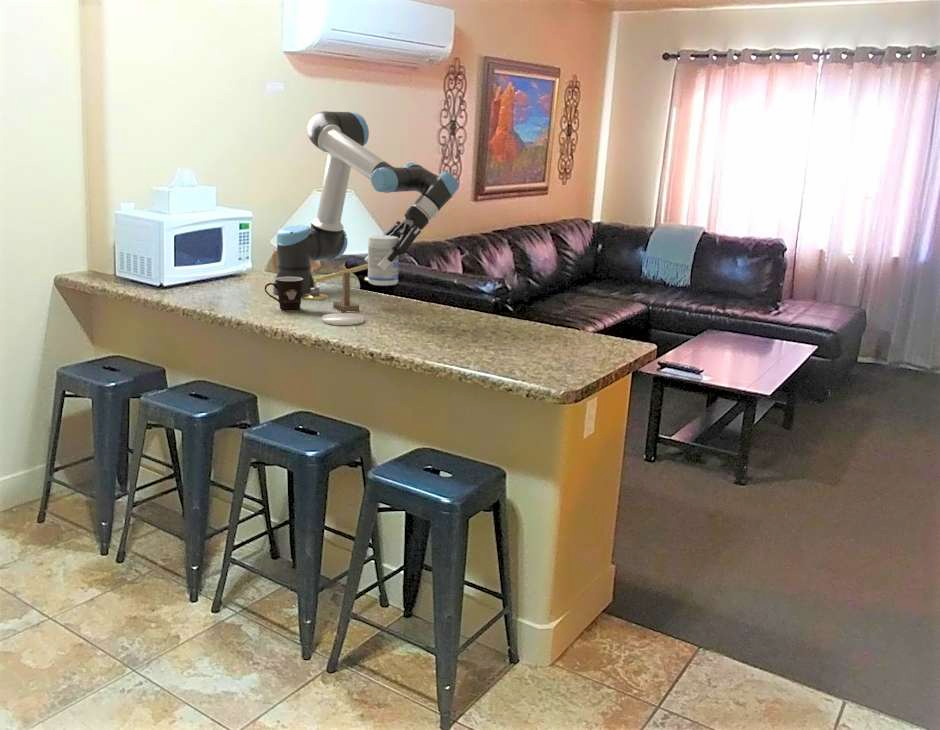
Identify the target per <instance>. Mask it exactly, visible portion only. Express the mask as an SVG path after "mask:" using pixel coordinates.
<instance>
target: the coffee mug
mask: <svg viewBox="0 0 940 730" xmlns="http://www.w3.org/2000/svg"><path fill="white" fill-rule="evenodd" d="M275 278H276V277H275ZM276 282H277V284H274V282H269V283H267V284H265V285H264V291H265V293H266V294H267V295H268V296H269V297H270V298H271V299H273V300H276V301H277V302H278V304H279V309H281V310H280V311H283V310H285V311H284V312H295V311H296V310H297V311H300V309H301V303H302V296H301V294H302V284H303V278H300V277H279V278H276ZM270 285H272V286H273V285H274V286H275V287H276V289H277V290H278V294H277V295H278V298H276V297H275V296H273V295H271V294H270V293H269V291H268V290H267V288H268V286H270Z"/></svg>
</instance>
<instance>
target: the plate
mask: <svg viewBox="0 0 940 730" xmlns="http://www.w3.org/2000/svg"><path fill="white" fill-rule="evenodd" d="M321 322H322V323H323V322H324V323H323V324H325V323H327V324H326V325H329V324H332V325H331V326H336V325H351V326H354V325H353V324H358V325H360V324H359V323H361V324H363V323H365V317H364V315H361V314H359V313H352V312H344V313H342V312H335V313H329V314H328V313H327V314H323V315H322V316H321Z"/></svg>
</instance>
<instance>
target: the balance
mask: <svg viewBox="0 0 940 730" xmlns="http://www.w3.org/2000/svg"><path fill="white" fill-rule="evenodd" d="M364 270H368V263H365V264H362V265H359V266H355V267H351V268H348V269H344V270H341V271H337V272H333V273H330V274H326V275H321V276H318V277H315V278H313V279H314V287H312V288H310V293H309V294H304V295H302V296H301V299H302V300H304V301H305V300H306V301H324V300H327V299H328V295H327V294H325V293H322V292H321V293H320V291H321V290H320V287H317V283H321V282H324V281H328V280H331V279H335V278H338V277H341V276H342V301H333V302H332V308H333V309H334V308H335V310H336V309H337V311H338V310H339V312H340V311H341V312H340V313H342V312H344V313H347V312H346V311H357V312H360V305H359V304H357V303H356V302H354V301H351V294H350V293H351V287H350V284H351V283H350V281H351V278H350V275H351V274H352V273H356V272H360V271H364ZM363 279H364V281H365V282H368V275H367V276H365V277H364V278H363ZM368 283H369V282H368Z"/></svg>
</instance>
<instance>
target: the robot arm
mask: <svg viewBox="0 0 940 730" xmlns="http://www.w3.org/2000/svg"><path fill="white" fill-rule="evenodd" d="M306 130H307V136H308V140H309V141H310V142H311V143H312V144H313V145H314V146H315V147H316V148H318V149H319V150H321V151H322V152H324V153H328V154H327V158H326V159H327V160H326V166H325V170H324V175H323V176H324V177H323V181H322V187H321V193H320V199H319V204H318V209H317V213H316V214H317V215H316V217H315V218H313V219H312V220H311V224H310V226H308V225H303V224H299V225H289V226H285V227H282V228H280V229H279V230H278V231H277V235H276V247H277V248H276V251H277V253H276V254H277V256H276V257H277V273H276V276H275V278H274V282H273V283H274V284H277V282H276V278H279V277H300V278H303V284H302V294H301V297H302V295H304V294H309V293H310V288H312V287H314V279H315V278H314V277H313V274H312V265H311V264H312V263H311V262H318V261H319V262H320V261H321V262H322V261H330V260H334V259H338V258H340V257H342V256H343V255H344V253H345V252H346V249H347V247H348V237H347V236H348V235H347V233H346V231H345V230H344V229H345V228H344V225H343V224H342V216H343V211H344V205H345V201H346V197H347V196H346V195H347V190H348V186H349V180H350V174H351V169H354V170H355V171H357V172H358V173H360V174H361V175H362V176H364V177H366V178H367V179H368V180H370V183H371V186H372V187H373V189H374V190H375V191H376V192H377V193H378V192H379V193H385V194H388V193H389V194H390V193H398V192H399V193H401V192H405V193H406V192H418V193H419V194H421V195H420V196H418V197H417V199H416V200H415V201H414V202H413V204H412V205H411V206H410V207H409V208H408V209H407V210H406V211H405V212H404V217H405V219H404V220H403V221H402V222H401V221H400V220H398V221H396V222H395V223H394V225H392V227H390V228H389V229H388V230H386V232H385V233H384V234H383V235H387V236H396V237H398V242H397V244H396V246H395V247H392V249H393V250H394V251H393V250H392V249H391V250H390V251H389V253H388V254H387V255H386V256H385V257H384V258H383V259H382V260H381V261H380V263H379V264H378V266H379V267H380V268H381V269H382V270H383V271H385V270H386V268H387V267H388V266H389V265H390V264H391V263H392V262H393V261H394V260H395V258H396V257H397V256H398V255H399V256H401V255H405V254H406V252H407V251H408V250H409V248H410V247H411V245H413V243H414V241H415V240H416V239H417V237H418V236H419V235H420V234H421V232H422V230H424V228H425V227H426V226H427V225H428V224H429V222H430V221H431V220H433V218H436V216H437V214H438V213H439V212H440V211H441V209H442V208H443V207H444V206H445V205H446V204H447V203H448V202H449V200H451V199H452V198H454V195H455V194H456V192H457V191H458V190H459V188H460V184H459V182H458V180H457V179H456V177H455V176H454V175H453V174H451V173H450V172H448V171H444V170H443V171H441V172H440V173H439V174H438V175H437V174H435V173H434V172H432V171H430V170H428V169H426V168H425V167H423V166H422V165H420V164H418V163H415V162H408V163H407V164H405V165H404V166H403V167H396V166H393V165H392V164H390V163H388V162H387V161H385V160H383V159H382V158H381V157H379V156H377V155H376V154H375V153H373V152H372V151H370V150H368V149H367V147H364V146H365V145H367V143H368V141H369V136H370V135H369V134H370V133H369V132H370V131H369V125H368V124H367V121H366V120H365V118H364V117H363V116H362V115H361V114H360V113H356V112H350V111H328V110H324V111H320V112H317V113H315V114H314V115H313V116H312V117H311V118H310V120H309V121H308V123H307V129H306ZM364 261H365V262H366V264H368V255H367V256H366V257H365V258H364ZM272 293H273V294H275V295H278V290H277V289H276V287H275V286H274V285H272Z"/></svg>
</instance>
